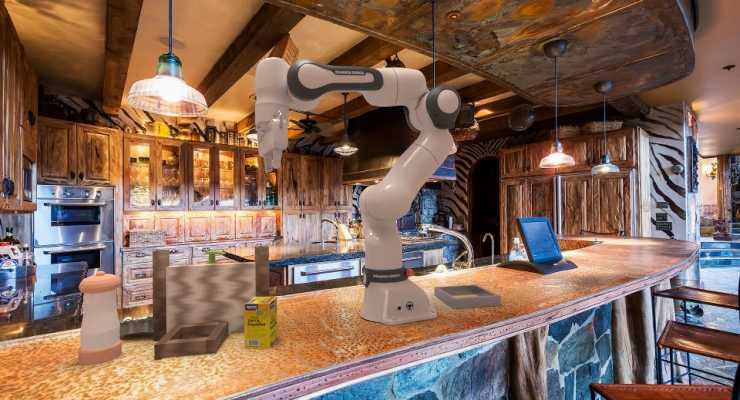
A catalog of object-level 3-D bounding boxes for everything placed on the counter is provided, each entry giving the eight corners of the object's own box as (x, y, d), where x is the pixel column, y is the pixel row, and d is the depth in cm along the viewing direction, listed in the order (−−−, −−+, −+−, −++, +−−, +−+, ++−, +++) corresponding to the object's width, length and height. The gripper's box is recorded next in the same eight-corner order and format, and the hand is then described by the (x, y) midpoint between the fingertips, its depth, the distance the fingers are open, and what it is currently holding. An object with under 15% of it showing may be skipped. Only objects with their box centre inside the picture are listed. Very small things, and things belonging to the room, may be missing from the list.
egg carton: (168, 326, 89) (168, 310, 90) (151, 331, 82) (151, 314, 83) (127, 330, 89) (127, 314, 89) (106, 336, 81) (106, 319, 82)
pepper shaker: (72, 372, 67) (71, 276, 67) (85, 357, 74) (85, 270, 74) (116, 365, 70) (116, 272, 70) (125, 351, 77) (125, 267, 77)
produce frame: (476, 292, 123) (475, 284, 123) (500, 305, 107) (500, 295, 107) (434, 295, 120) (434, 287, 120) (453, 309, 104) (453, 299, 104)
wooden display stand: (270, 328, 90) (269, 245, 90) (263, 354, 74) (262, 254, 75) (156, 337, 85) (156, 249, 85) (123, 367, 69) (122, 259, 70)
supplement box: (270, 352, 75) (270, 303, 75) (243, 352, 75) (243, 303, 75) (278, 341, 81) (277, 296, 81) (253, 341, 81) (253, 296, 81)
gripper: (294, 111, 84) (294, 166, 84) (275, 128, 102) (275, 173, 102) (268, 107, 81) (268, 165, 81) (253, 125, 99) (254, 172, 99)
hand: (272, 169), depth 92 cm, fingers open, 8 cm apart
